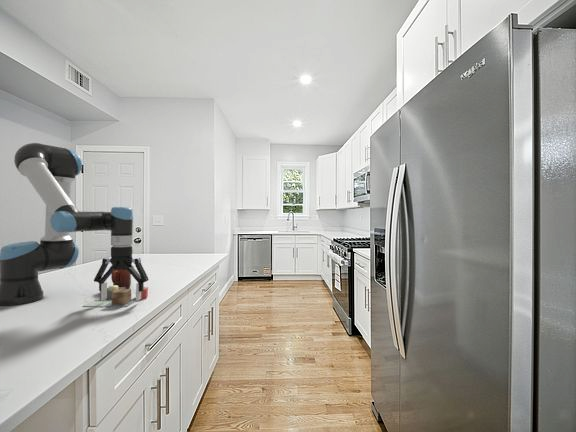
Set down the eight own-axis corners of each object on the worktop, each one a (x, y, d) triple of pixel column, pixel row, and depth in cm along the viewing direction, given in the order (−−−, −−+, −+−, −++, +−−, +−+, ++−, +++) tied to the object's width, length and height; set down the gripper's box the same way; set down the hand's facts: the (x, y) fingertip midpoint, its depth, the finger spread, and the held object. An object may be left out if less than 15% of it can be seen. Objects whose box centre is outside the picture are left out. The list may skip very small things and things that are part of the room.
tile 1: (82, 306, 116) (82, 305, 116) (95, 300, 124) (95, 299, 124) (103, 306, 116) (103, 306, 116) (115, 300, 124) (115, 300, 124)
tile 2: (105, 306, 116) (105, 306, 116) (116, 300, 124) (116, 300, 124) (126, 307, 116) (126, 306, 116) (136, 300, 124) (136, 300, 124)
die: (135, 299, 127) (135, 288, 127) (137, 296, 130) (137, 286, 130) (146, 298, 128) (146, 288, 128) (147, 296, 132) (147, 286, 132)
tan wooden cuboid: (111, 305, 117) (111, 292, 117) (118, 301, 122) (118, 289, 122) (124, 305, 117) (124, 292, 117) (131, 301, 122) (131, 289, 122)
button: (106, 296, 127) (106, 287, 127) (111, 294, 131) (111, 285, 131) (115, 296, 127) (115, 287, 127) (120, 294, 131) (120, 285, 131)
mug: (118, 286, 148) (118, 265, 148) (136, 286, 148) (136, 265, 148) (102, 292, 136) (103, 270, 136) (122, 293, 136) (122, 270, 136)
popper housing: (100, 299, 125) (100, 291, 125) (109, 295, 132) (109, 287, 132) (117, 299, 125) (117, 291, 125) (125, 295, 132) (126, 287, 132)
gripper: (83, 246, 116) (83, 302, 116) (149, 247, 116) (149, 302, 117) (95, 244, 123) (95, 296, 123) (157, 245, 124) (156, 297, 124)
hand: (121, 299), depth 120 cm, fingers open, 13 cm apart
